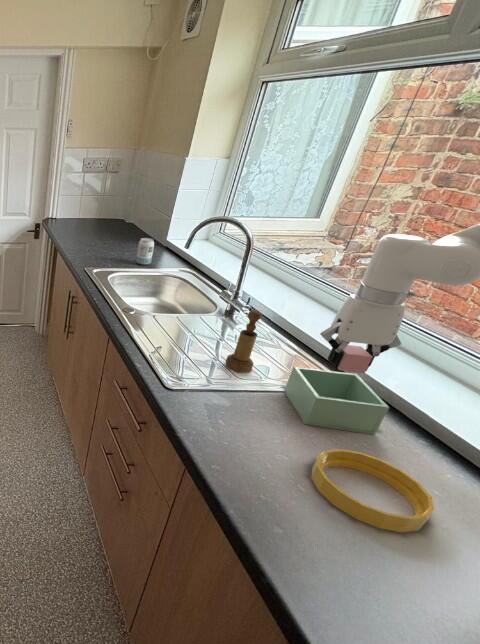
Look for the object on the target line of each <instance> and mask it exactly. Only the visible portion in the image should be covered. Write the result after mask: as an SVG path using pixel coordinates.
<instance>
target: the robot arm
mask: <svg viewBox="0 0 480 644" xmlns="http://www.w3.org/2000/svg"><path fill="white" fill-rule="evenodd" d="M416 278H419V279H422V280H426V281H429V282H433V283H436V284H440V285H445V286H464V285H468V284H472V283H473V282H476V281H477V280H479V279H480V223H478V224H475V225H472V226H470V227H467V228H464V229H462V230H459V231H456V232H453V233H451V234H448V235H446V236H443V237H441V238H439V239H437V240H436V241H434V242H433V243H431V242H430V241H429V240H428V239H426V238H424V237H421V236H417V235H411V234H402V233H391V234H385V235H384V236H382V237H381V238H380V239H379V240H378V243H377V244H376V247H375V249H374V251H373V254H372V256H371V258H370V260H369V263H368V265H367V268H366V269H365V272H364V274H363V277H362V278H361V281H360V283H359V284H358V287H357V290H356V292H355V293H353V294H350V295H348V297H347V298H346V299H345V300H344V302H343V304H342V305H341V306H340V308H339V309H338V311H337V313H336V314H335V316H334V318H333V320H332V323H331V325H330V326H329V327H328V328H326V329H324V330H323V331H321V332H320V336H321V337H322V338H323V339H324V340H325V341H326V342H327V343H328V344H329V345H330V346H331V347H332V348H331V350H330V352H329V355H328V357H327V361H328V363H329V364H330V365H331V367H332V368H334V369H338V368H337V367H338V366H339V364H340V361H341V359H342V357H343V355H344V353H343V352H342V351H343V350H344V349H345V348H346V346H347V345H350V343H356V344H364V345H365V347H366V348H365V350H366V351H367V352H368V353H369V354H370V355H371V356H372V359H371V361H370V363H369V365H368V367H367V369H366V371H365V372H367V371H368V369H369V367H371V365H372V363H373V361H374V359H375V358H376V357H380V354H383V353H384V352H387V351H389V350H390V349H393V348H396V347H398V346H401V345H402V342H401V339H400V337H399V335H398V332H399V330H400V327H401V325H402V322H403V319H404V316H405V311H406V303H405V301H406V299H408V298H413V297H414V296H415V291H414V290H411V288H412V286H413V284H414V282H415V280H416ZM335 334H336V335H337V336H336V337H335V338H334V337H333V335H335Z"/></svg>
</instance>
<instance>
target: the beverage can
mask: <svg viewBox="0 0 480 644" xmlns="http://www.w3.org/2000/svg"><path fill="white" fill-rule="evenodd" d="M154 248H155V241H154V239H153V238H150V237H142V238H140V240H139V242H138V246H137V251H136V257H135V262H136V263H137V264H138V265H141V266H149V264H151V263H152V260H153V259H152V258H153V253H154Z"/></svg>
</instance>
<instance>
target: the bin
mask: <svg viewBox="0 0 480 644" xmlns="http://www.w3.org/2000/svg"><path fill="white" fill-rule="evenodd" d="M358 374H359V373H358ZM358 374H357V373H353V372H345V371H335V370H325V369H316V368H309V367H300V366H293V367H292V370H291V372H290V374H289V377H288V380H287V382H286V385H285V387H284V390H283V392H284V394H285V395H286V397H287V398H288V400H289V402H290V403H291V404H292V406H293V408H294V409H295V412H296V413H297V414H298V416H299V417H300V419H301V420H302V422H303V423H304V425H306V426H314V427H321V428H326V429H327V428H328V429H333V430H341V431H347V432H352V433H353V432H354V433H359V434H367V435H373V436H374V435H376V434H377V431H378V430H379V428H380V426H381V424H382V422H383V421H384V420H385V419H384V418H385V417H386V415H387V413H388V411H389V409H390V407H389V405H388V404H387V403H386V402H385V401H384V400H383V399H382V398H381V397H380V396H379V395H378V394H377V393H376V392H375V391H374V390H373V389H372V387H370V386H369V385H368V384H367V382H366V381H364V380H363V379H362V377H360V375H358Z"/></svg>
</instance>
